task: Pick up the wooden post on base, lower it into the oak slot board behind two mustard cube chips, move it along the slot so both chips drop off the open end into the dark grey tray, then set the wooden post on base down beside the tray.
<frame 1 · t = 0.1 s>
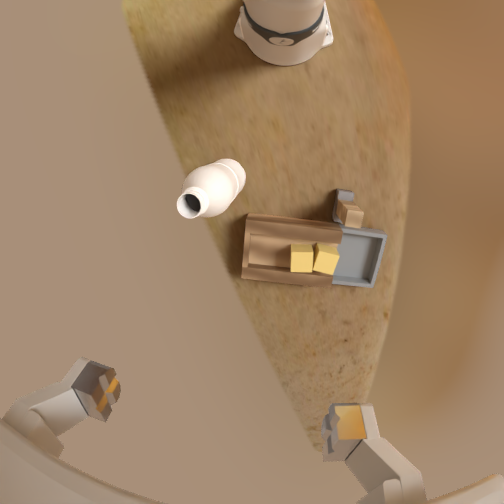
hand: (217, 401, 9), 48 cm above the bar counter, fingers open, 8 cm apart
chip b: (301, 257, 53), point 5 cm above the bar counter, touching slot board
chip a: (324, 258, 52), point 5 cm above the bar counter, touching slot board
slot board: (290, 246, 57), on the bar counter
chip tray: (355, 253, 57), on the bar counter
wooden post on base: (341, 204, 53), on the bar counter
water bottle: (229, 175, 53), on the bar counter
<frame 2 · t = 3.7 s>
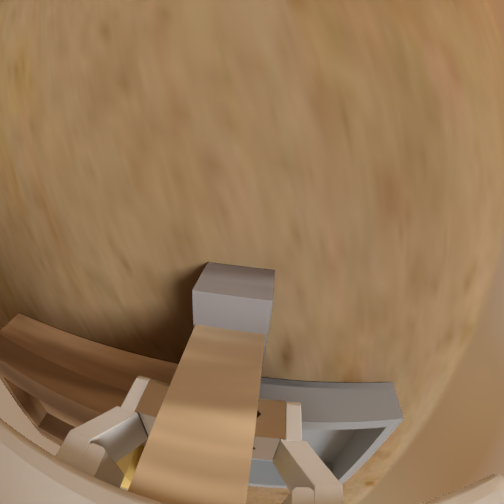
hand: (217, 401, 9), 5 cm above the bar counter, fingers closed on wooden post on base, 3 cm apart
chip b: (119, 455, 13), point 5 cm above the bar counter, touching slot board
slot board: (118, 397, 18), on the bar counter
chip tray: (298, 430, 17), on the bar counter
wooden post on base: (237, 320, 14), on the bar counter, touching gripper
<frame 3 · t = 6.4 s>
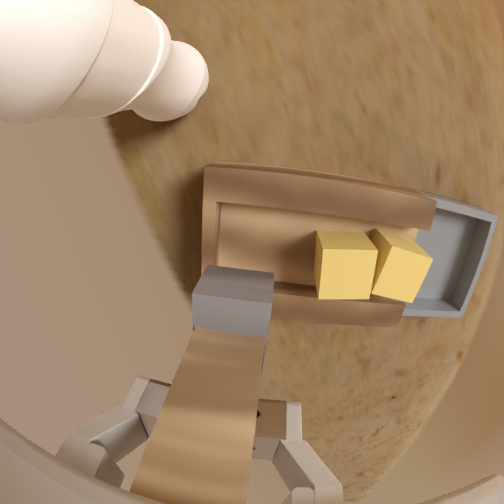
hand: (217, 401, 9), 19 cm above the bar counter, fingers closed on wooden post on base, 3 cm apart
chip b: (342, 263, 21), point 5 cm above the bar counter, touching slot board
chip a: (394, 265, 21), point 5 cm above the bar counter, touching slot board
slot board: (312, 235, 26), on the bar counter
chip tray: (436, 253, 25), on the bar counter
wooden post on base: (236, 322, 14), point 13 cm above the bar counter, touching gripper
water bottle: (177, 85, 21), on the bar counter
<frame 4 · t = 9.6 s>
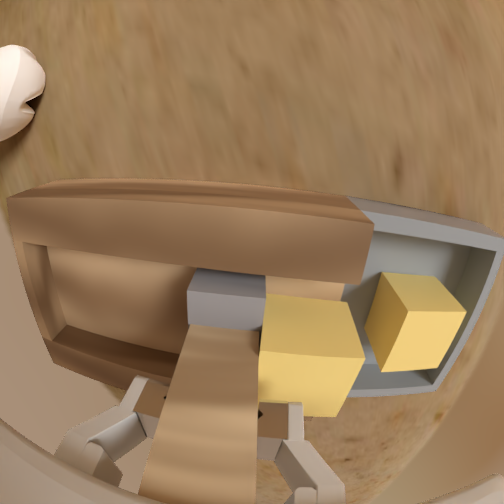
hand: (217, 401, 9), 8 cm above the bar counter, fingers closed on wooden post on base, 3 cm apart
chip b: (301, 357, 12), point 5 cm above the bar counter, touching wooden post on base
chip a: (412, 321, 14), point 3 cm above the bar counter, tilted 92°, touching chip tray
slot board: (178, 277, 17), on the bar counter
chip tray: (398, 300, 16), on the bar counter
wooden post on base: (228, 319, 14), point 3 cm above the bar counter, touching chip b, gripper
water bottle: (26, 93, 13), on the bar counter
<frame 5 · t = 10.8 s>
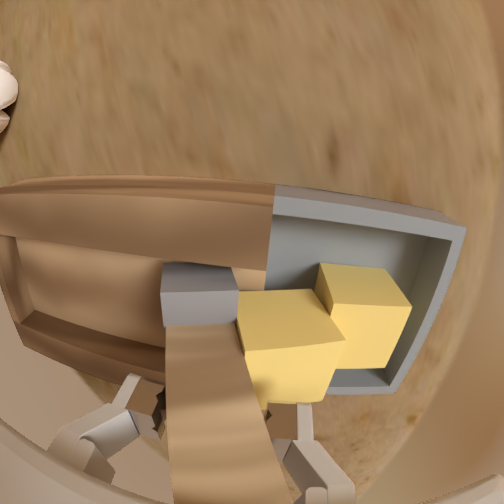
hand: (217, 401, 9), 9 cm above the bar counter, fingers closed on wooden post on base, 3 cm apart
chip b: (278, 349, 12), point 5 cm above the bar counter, tilted 16°, touching chip a, wooden post on base
chip a: (354, 316, 14), point 3 cm above the bar counter, tilted 92°, touching chip b, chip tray
slot board: (127, 266, 17), on the bar counter
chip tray: (345, 293, 16), on the bar counter
wooden post on base: (197, 315, 14), point 3 cm above the bar counter, tilted 19°, touching chip b, gripper, slot board
water bottle: (4, 100, 13), on the bar counter
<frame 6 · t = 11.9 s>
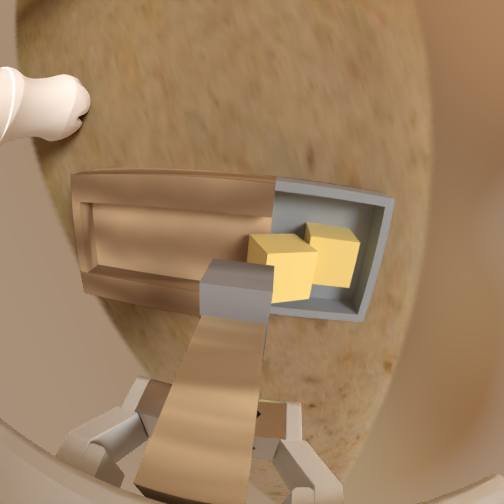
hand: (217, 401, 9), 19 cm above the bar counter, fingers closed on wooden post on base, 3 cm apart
chip b: (279, 266, 22), point 5 cm above the bar counter, tilted 24°, touching chip a, slot board
chip a: (327, 253, 24), point 2 cm above the bar counter, tilted 90°, touching chip b, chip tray
slot board: (177, 230, 27), on the bar counter
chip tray: (322, 246, 26), on the bar counter
wooden post on base: (239, 313, 15), point 12 cm above the bar counter, touching gripper
water bottle: (74, 108, 23), on the bar counter
when the fingers open (6 cm above the bar counter, at t = 15.4 s): wooden post on base stays where it is, on the bar counter.
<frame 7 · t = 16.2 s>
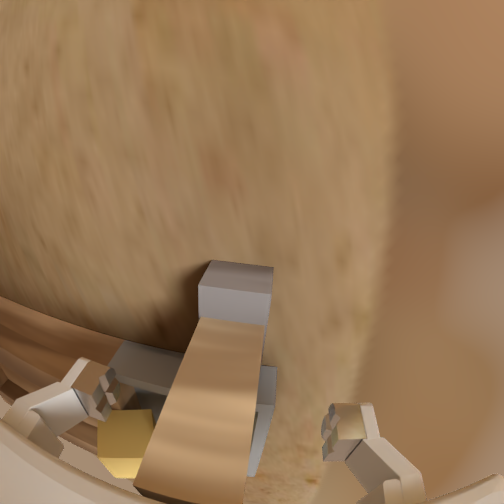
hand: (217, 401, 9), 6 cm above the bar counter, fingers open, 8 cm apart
chip b: (131, 445, 15), point 5 cm above the bar counter, tilted 24°, touching chip a, slot board
slot board: (57, 363, 19), on the bar counter
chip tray: (199, 408, 19), on the bar counter
wooden post on base: (238, 314, 15), on the bar counter
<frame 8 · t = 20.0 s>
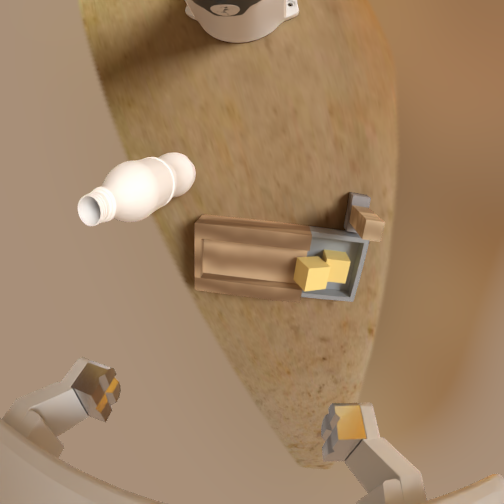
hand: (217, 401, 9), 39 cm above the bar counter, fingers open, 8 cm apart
chip b: (311, 273, 44), point 5 cm above the bar counter, tilted 24°, touching chip a, slot board
chip a: (334, 266, 46), point 2 cm above the bar counter, tilted 90°, touching chip b, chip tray
slot board: (252, 252, 49), on the bar counter
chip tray: (331, 261, 48), on the bar counter
wooden post on base: (355, 210, 45), on the bar counter
water bottle: (179, 172, 45), on the bar counter
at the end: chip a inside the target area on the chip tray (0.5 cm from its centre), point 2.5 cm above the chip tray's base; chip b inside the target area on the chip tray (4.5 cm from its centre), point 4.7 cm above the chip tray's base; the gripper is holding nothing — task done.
